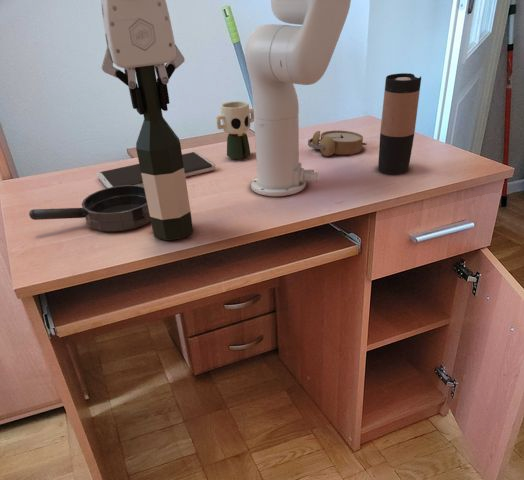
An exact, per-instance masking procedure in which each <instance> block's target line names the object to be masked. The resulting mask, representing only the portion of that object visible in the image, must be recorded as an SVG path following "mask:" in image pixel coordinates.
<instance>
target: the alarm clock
mask: <svg viewBox="0 0 524 480" xmlns="http://www.w3.org/2000/svg"><path fill="white" fill-rule="evenodd" d="M363 140H364V136H363V135H362V134H360V133H358V132H354V131H349V130H327V131H323V132H322V133H321V130H317V131H315V132H314V133H313V135H312V137H311V138H310V139H308V140H307V146H308V147H310V148H312V149H314V150H317V151H320V153H321V154H322V155H323V156H324V157H330V156H332V155H334V154H337V155H353V154H357V153H360V152H361V151H362V150H363V149H362V148H363V146H367V145H368V144H367V143H366V142H364V141H363Z"/></svg>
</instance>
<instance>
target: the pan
mask: <svg viewBox="0 0 524 480" xmlns="http://www.w3.org/2000/svg"><path fill="white" fill-rule="evenodd" d="M81 208H83V211H84V214H85V217H84V218H85V221H86V224H87V226H88V227H90V228H91V229H94V230H98V231H100V232H105V233H106V232H108V233H109V232H110V233H117V232H126V231H131V230H134V229H138V228H141V227H143V226H146V225H147V224H148V223H149V224H150V223H151V219H150V214H149V209H148V204H147V199H146V194H145V189H144V186H138V185H124V186H115V187H110V188H106V187H105V188H103V189H100V190H97V191H95V192H92V193H91V194H88V195H87V196H86V197H85V198H84V199H83V200H82V202H81Z"/></svg>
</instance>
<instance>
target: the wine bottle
mask: <svg viewBox="0 0 524 480" xmlns="http://www.w3.org/2000/svg"><path fill="white" fill-rule="evenodd" d="M135 77H136V83H137V86H138V88H140V91H141V96H142V102H143V107H144V114H143V121H142V124H141V128H140V131H139V134H138V137H137V140H136V143H135V150H136V155H137V160H138V164H139V165H140V170H141V175H142V180H143V184H144V189H145V194H146V199H147V204H148V209H149V214H150V219H151V221H150V223H151V229H152V233H153V237H154V238H156V239H159V240H160V239H161V240H164V241H170V240H178V239H183V238H185V237H187V236H188V235H190V234H192V233H193V232H194V227H193V226H194V225H193V220H192V219H193V218H192V212H191V206H190V205H191V204H190V199H189V192H188V186H187V179H186V178H187V177H185V171H184V165H183V158H182V154H183V152H182V145H181V141H180V137H178V135H177V134H176V133H175V131H174V130H173V128H172V127H171V126H170V125H169V123H168V122H167V120H166V119H165V118H164V116H163V110H162V109H161V104H160V98H159V92H158V86H157V74H156V71H155V67H154V65H149V66H142V67H135Z"/></svg>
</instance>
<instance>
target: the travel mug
mask: <svg viewBox="0 0 524 480" xmlns="http://www.w3.org/2000/svg"><path fill="white" fill-rule="evenodd" d="M421 83H422V76H421V75H420V76H419V77H417V76H415V74H414V73H411V72H410V73H407V72H403V73H393V74H388V75H386V77H385V83H384V92H383V101H382V102H383V103H382V112H381V120H380V121H381V123H380V131H379V132H380V133H379V147H378V162H377V164H378V166H377V170H378V172H379V173H381V174H384V175H388V176H398V175H404V174H406V173H408V171H409V168H410V161H411V157H412V150H413V144H414V138H415V132H416V124H417V117H418V109H419V102H420V101H419V99H420V92H421Z"/></svg>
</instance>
